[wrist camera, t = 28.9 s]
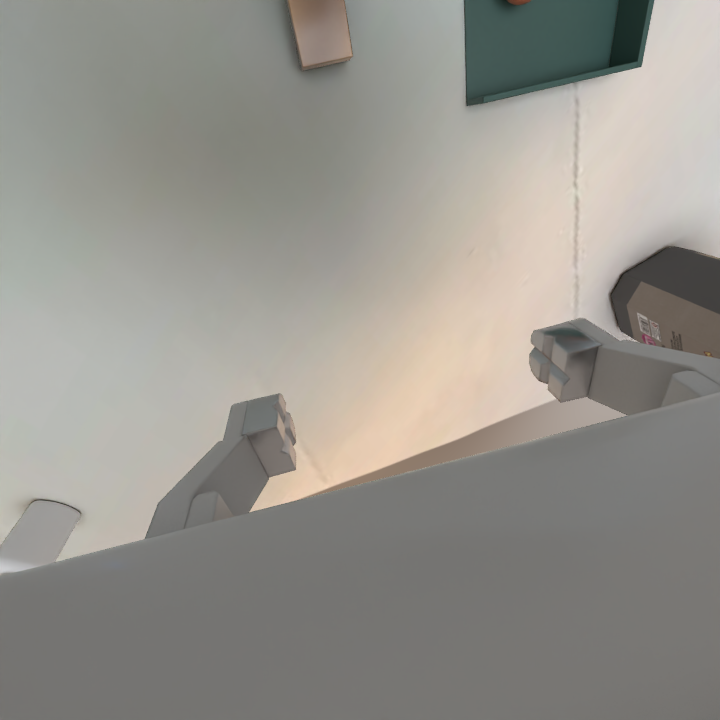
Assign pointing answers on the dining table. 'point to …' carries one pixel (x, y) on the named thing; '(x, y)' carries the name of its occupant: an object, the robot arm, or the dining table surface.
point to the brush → (320, 32)
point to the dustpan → (549, 43)
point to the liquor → (672, 302)
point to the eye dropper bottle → (37, 536)
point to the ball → (518, 2)
